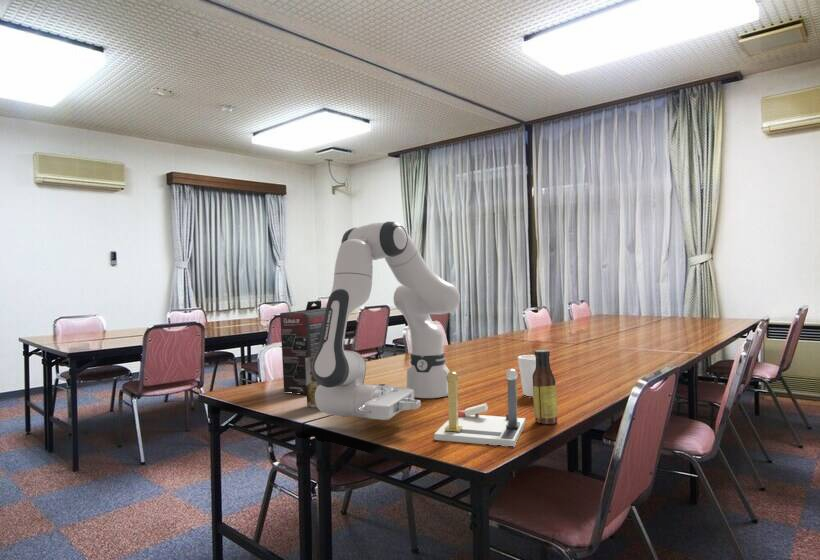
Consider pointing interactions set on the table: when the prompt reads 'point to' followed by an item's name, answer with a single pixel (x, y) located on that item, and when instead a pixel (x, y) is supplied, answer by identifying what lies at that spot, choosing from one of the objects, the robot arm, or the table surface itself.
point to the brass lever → (453, 402)
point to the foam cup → (527, 372)
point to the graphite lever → (512, 398)
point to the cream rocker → (476, 409)
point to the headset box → (300, 343)
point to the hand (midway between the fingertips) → (419, 404)
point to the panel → (482, 430)
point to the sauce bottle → (544, 390)
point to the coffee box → (310, 382)
